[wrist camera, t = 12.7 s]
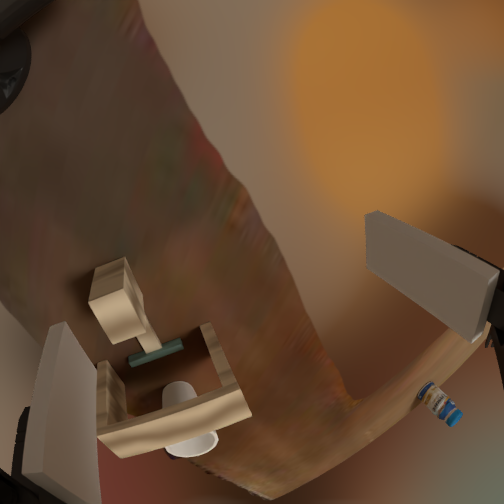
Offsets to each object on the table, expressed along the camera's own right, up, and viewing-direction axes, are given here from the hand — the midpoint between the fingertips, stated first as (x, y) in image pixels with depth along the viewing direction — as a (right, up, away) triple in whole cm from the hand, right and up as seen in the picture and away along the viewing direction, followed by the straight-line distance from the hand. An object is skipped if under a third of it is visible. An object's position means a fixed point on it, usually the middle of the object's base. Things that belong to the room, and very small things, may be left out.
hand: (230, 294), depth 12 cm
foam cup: (-14, -26, +45) cm, 54 cm away
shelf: (-16, -17, +40) cm, 46 cm away
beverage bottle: (+67, -51, +87) cm, 120 cm away
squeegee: (-18, -8, +35) cm, 40 cm away
